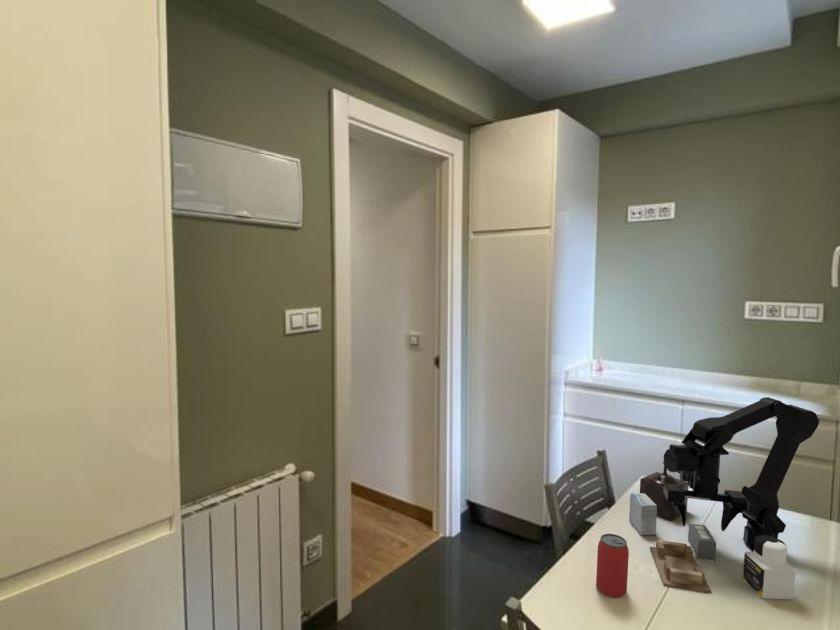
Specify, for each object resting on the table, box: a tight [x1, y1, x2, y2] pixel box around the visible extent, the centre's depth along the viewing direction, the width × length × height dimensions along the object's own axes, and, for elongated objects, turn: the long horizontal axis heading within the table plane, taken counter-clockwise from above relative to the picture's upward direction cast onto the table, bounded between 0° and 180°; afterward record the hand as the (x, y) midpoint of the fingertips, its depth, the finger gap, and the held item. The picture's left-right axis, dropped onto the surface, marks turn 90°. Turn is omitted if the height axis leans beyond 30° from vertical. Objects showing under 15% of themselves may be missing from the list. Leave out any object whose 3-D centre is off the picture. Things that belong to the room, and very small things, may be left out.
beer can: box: [595, 533, 630, 599], centre depth 113 cm, size 7×7×12 cm
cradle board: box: [649, 539, 712, 594], centre depth 121 cm, size 10×16×3 cm, turn 166°
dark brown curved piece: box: [639, 461, 692, 521], centre depth 149 cm, size 16×11×18 cm
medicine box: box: [628, 492, 658, 536], centre depth 141 cm, size 8×4×9 cm, turn 179°
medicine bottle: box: [742, 535, 797, 600], centre depth 114 cm, size 7×7×12 cm
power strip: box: [687, 522, 717, 562], centre depth 130 cm, size 4×9×5 cm, turn 166°
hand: (702, 527), depth 130 cm, fingers open, 9 cm apart
